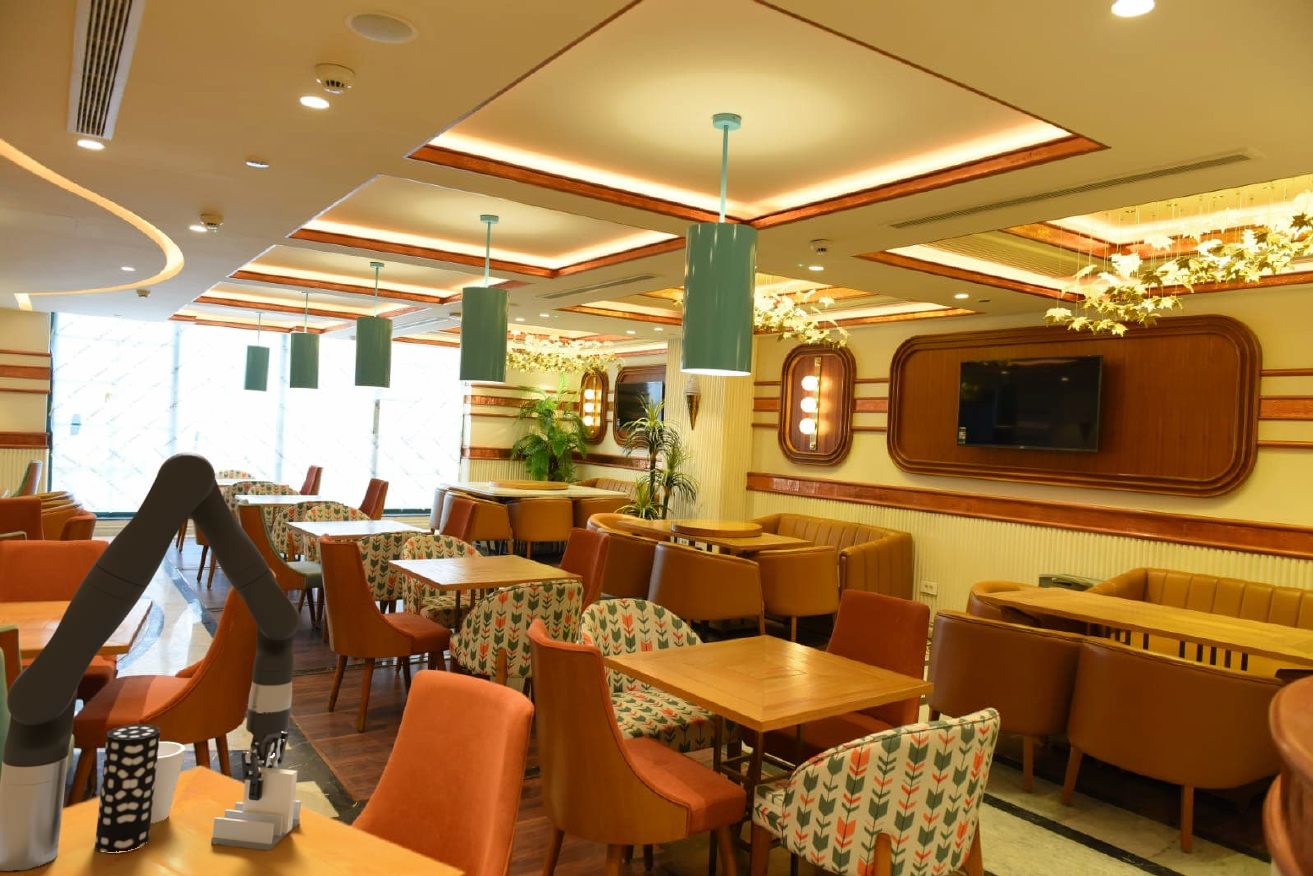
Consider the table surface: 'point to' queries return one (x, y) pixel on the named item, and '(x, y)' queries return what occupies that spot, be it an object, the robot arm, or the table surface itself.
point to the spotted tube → (127, 788)
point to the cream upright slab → (274, 795)
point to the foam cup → (166, 778)
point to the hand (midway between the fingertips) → (260, 794)
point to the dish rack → (251, 828)
